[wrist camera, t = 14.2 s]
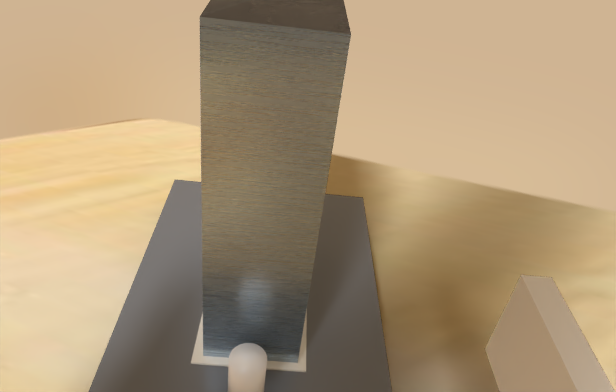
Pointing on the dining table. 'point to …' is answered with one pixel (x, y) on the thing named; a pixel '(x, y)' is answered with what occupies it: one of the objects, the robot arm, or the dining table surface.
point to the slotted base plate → (247, 357)
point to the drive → (265, 164)
